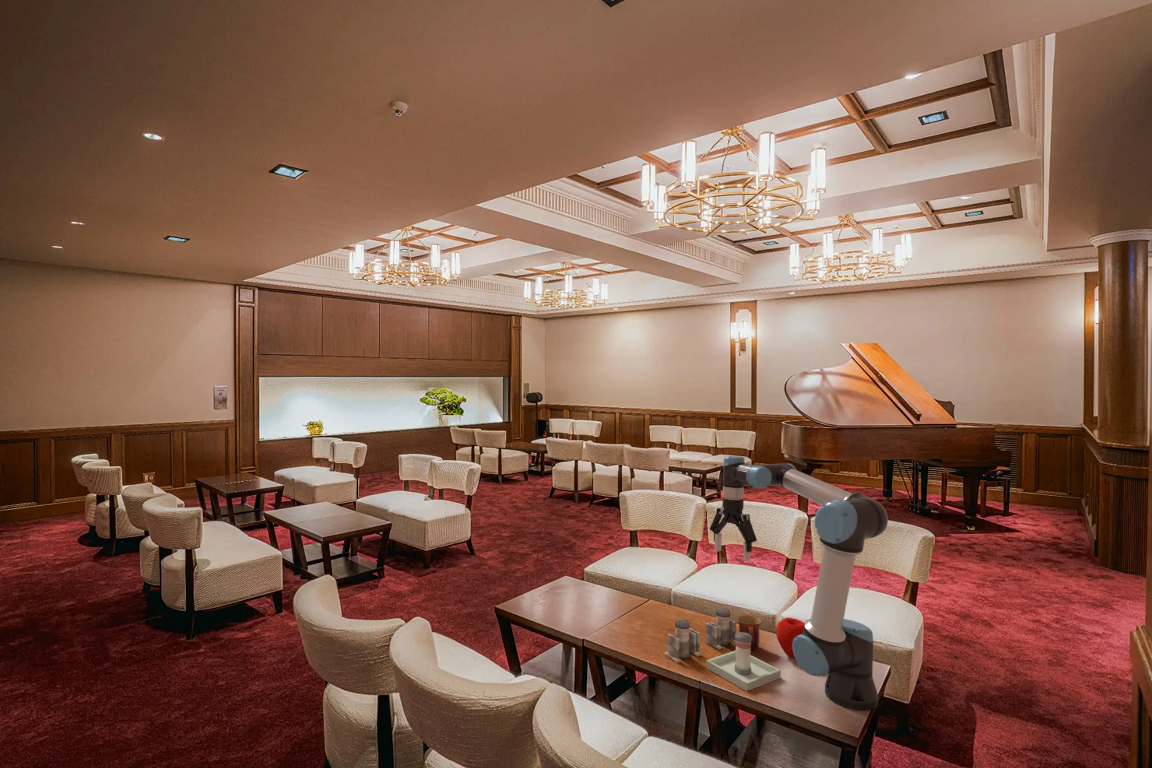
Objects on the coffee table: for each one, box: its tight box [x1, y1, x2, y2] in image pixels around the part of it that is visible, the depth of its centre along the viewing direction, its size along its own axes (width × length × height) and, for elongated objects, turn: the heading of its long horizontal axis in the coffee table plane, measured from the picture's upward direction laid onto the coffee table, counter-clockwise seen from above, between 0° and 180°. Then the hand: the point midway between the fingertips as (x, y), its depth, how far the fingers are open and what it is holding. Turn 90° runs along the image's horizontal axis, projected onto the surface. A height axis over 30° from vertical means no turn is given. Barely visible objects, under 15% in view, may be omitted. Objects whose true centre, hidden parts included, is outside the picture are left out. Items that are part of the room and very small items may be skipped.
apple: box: [775, 617, 805, 660], centre depth 204 cm, size 12×12×13 cm
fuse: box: [735, 631, 752, 675], centre depth 191 cm, size 5×5×12 cm
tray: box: [705, 650, 782, 692], centre depth 191 cm, size 18×17×3 cm
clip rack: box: [663, 607, 737, 664], centre depth 209 cm, size 7×32×12 cm, turn 123°
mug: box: [737, 614, 763, 652], centre depth 209 cm, size 12×9×10 cm
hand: (731, 555), depth 208 cm, fingers open, 13 cm apart
